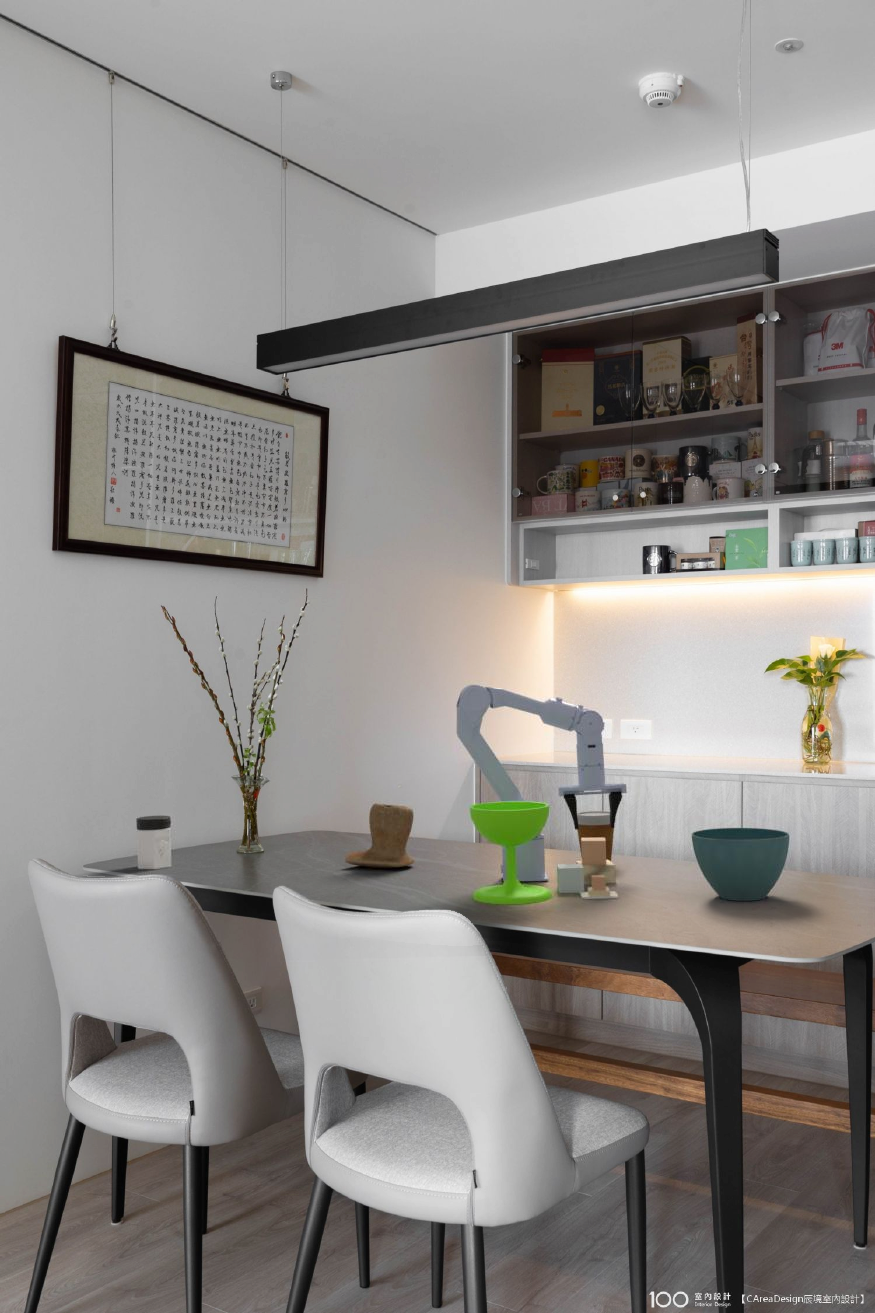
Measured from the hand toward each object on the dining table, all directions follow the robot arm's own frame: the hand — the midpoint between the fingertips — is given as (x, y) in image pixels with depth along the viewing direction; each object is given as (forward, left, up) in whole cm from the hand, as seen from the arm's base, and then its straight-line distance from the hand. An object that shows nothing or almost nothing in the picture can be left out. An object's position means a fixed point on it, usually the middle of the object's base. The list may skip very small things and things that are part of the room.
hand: (594, 828), depth 247 cm
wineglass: (-19, -20, -11) cm, 29 cm away
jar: (-105, +28, -11) cm, 109 cm away
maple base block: (-1, -5, -11) cm, 12 cm away
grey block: (-7, -15, -11) cm, 20 cm away
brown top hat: (-48, +20, -11) cm, 53 cm away
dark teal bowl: (+25, -26, -11) cm, 38 cm away
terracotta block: (-1, -5, -7) cm, 8 cm away
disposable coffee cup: (+1, +13, -11) cm, 17 cm away
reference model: (-2, -22, -10) cm, 24 cm away
